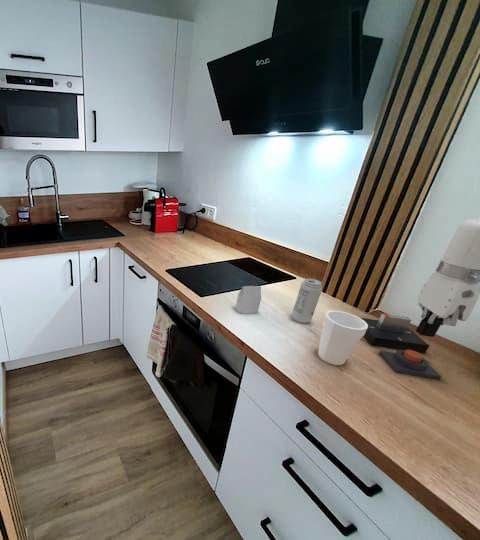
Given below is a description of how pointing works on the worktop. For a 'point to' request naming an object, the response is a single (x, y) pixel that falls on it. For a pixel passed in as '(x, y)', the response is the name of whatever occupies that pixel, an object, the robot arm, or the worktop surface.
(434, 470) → the worktop surface
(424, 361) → the button block
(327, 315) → the foam cup
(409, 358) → the button
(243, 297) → the grey tapered block
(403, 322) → the lever
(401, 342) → the tap deck
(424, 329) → the robot arm
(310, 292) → the energy drink can
